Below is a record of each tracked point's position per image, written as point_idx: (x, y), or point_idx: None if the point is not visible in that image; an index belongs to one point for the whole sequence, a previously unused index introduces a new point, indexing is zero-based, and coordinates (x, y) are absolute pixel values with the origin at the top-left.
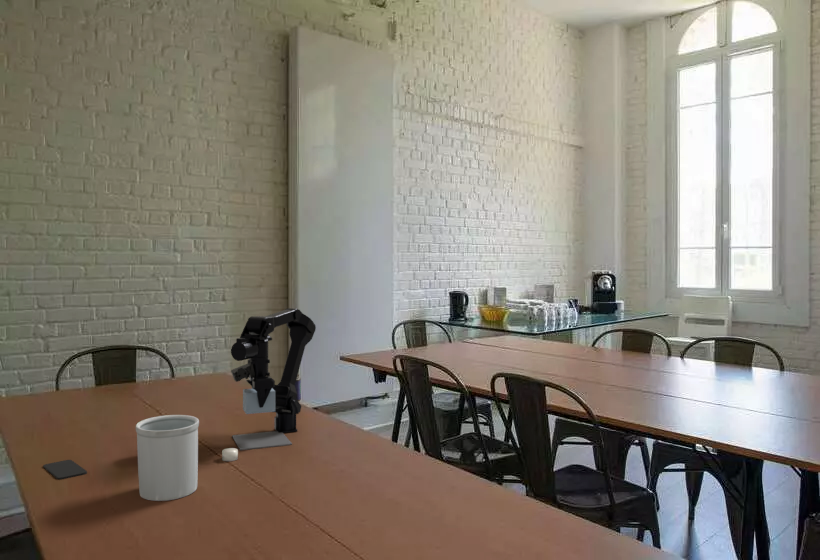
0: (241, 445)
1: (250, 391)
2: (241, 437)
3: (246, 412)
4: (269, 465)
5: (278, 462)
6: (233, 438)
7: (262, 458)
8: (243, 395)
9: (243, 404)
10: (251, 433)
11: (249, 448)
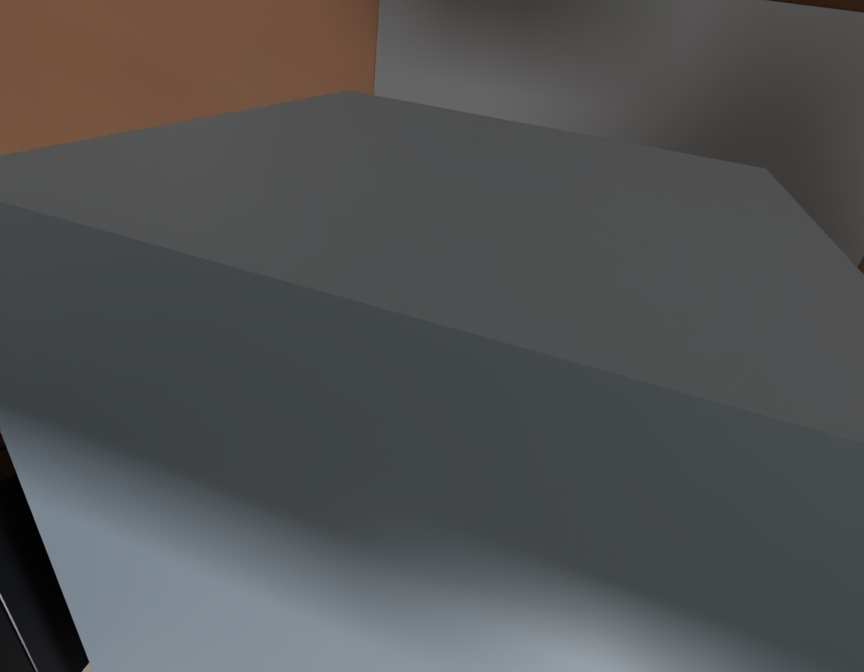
0: (492, 6)
1: (221, 469)
2: (789, 109)
3: (333, 94)
4: (14, 62)
5: (61, 140)
6: (861, 12)
7: (146, 73)
8: (733, 274)
9: (705, 184)
10: (857, 265)
11: (376, 55)
